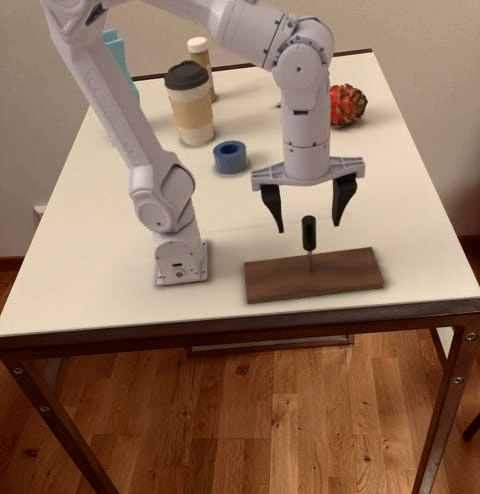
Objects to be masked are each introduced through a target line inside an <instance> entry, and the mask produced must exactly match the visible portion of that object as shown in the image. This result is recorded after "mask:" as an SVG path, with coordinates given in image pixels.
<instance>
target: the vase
mask: <svg viewBox="0 0 480 494" xmlns="http://www.w3.org/2000/svg"><path fill="white" fill-rule="evenodd" d="M102 35H103V38H104V40H105V42H106V44H107V46H108V47H109V49H110V51H111V53H112V55H113V57H114V59H115V61H116V62H117V64H118V66H119V68H120V70H121V72H122V74H123V75H124V77H125V79H126V81H127V83H128V85H129V87H130V89H131V90H132V92H133V94H134V96H135V98H136V100H137V102H138V104H139V105H140V106H141V100H140V99H141V97H140V92H139V90H138V88H137V85H135V83H134V81H133V79H132V77H131V74H130V73H129V70H128V66H127V61H126V56H125V55H126V54H125V53H126V52H125V39H124V38H120V39H119V38H118V29H117V28H112V29H108V30H103V32H102Z"/></svg>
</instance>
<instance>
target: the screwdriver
mask: <svg viewBox="0 0 480 494" xmlns="http://www.w3.org/2000/svg"><path fill="white" fill-rule="evenodd" d="M301 236H302V237H301V239H302V249H303V250H304V251H306V255H307V262H308V267H309V272H313V264H312V254H313V251H315V250H316V249H317V218H316V217H315V216H314V215H311V214H308V215H307V214H306V215H304V216H303V217H302V218H301Z"/></svg>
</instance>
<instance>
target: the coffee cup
mask: <svg viewBox="0 0 480 494" xmlns="http://www.w3.org/2000/svg"><path fill="white" fill-rule="evenodd" d="M208 79H209V75H208V71H207V69H205V68H203V67H202V66H201V65H200V64H198V63H196V62H195V61H193V60H191V59H188V60H187V59H186V60H183V61H182V62H180V63H178V64H175V65H173V66H171V67H169V68H168V70H167V73H166V74H165V75H164V78H163V80H164V87H165V88H166V91H167V94H168V100H169V103H170V105H171V110H172V114H173V116H174V120H175V122H176V125H177V127H178V130H179V134H180V137H181V140H182V142H183V143H185V144H187V145H200V144H204V143H207V142H209V141H210V140H212V139H213V137H214V135H215V134H214V133H215V132H214V124H213V122H214V121H213V119H214V116H213V105H212V103H213V102H211V92H210V88H209V80H208Z"/></svg>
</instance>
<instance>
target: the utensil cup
mask: <svg viewBox="0 0 480 494" xmlns="http://www.w3.org/2000/svg"><path fill="white" fill-rule="evenodd" d="M212 156H213V161H214V166H215V169H216V171H217V172H218V173H219V174H223V175H236V174H239V173H241V172H243V171H244V170H246V168H247V167H248V165H249V159H248V151H247V145H246V144H245V142H242V141H240V140H234V139H233V140H225V141H222V142H220V143H218V144H217V145H215V146H214V147H213V150H212Z"/></svg>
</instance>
